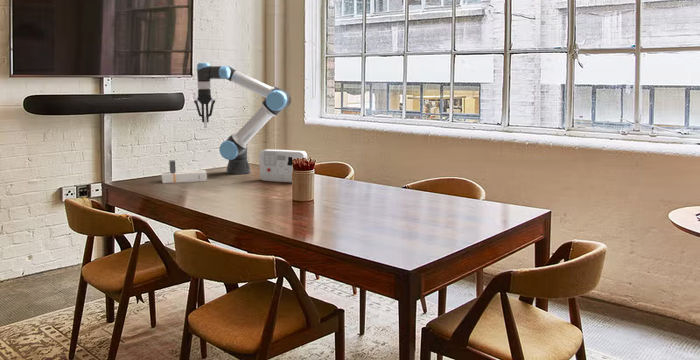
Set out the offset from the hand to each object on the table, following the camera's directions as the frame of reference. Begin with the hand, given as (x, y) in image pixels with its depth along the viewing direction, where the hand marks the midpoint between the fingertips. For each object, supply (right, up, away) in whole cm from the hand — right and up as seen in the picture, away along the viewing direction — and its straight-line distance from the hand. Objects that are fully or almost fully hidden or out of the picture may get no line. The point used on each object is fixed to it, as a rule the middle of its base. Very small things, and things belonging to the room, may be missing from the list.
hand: (205, 127), depth 405 cm
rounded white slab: (+49, -33, -15) cm, 61 cm away
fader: (-16, -32, -16) cm, 39 cm away
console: (-9, -32, -14) cm, 36 cm away
